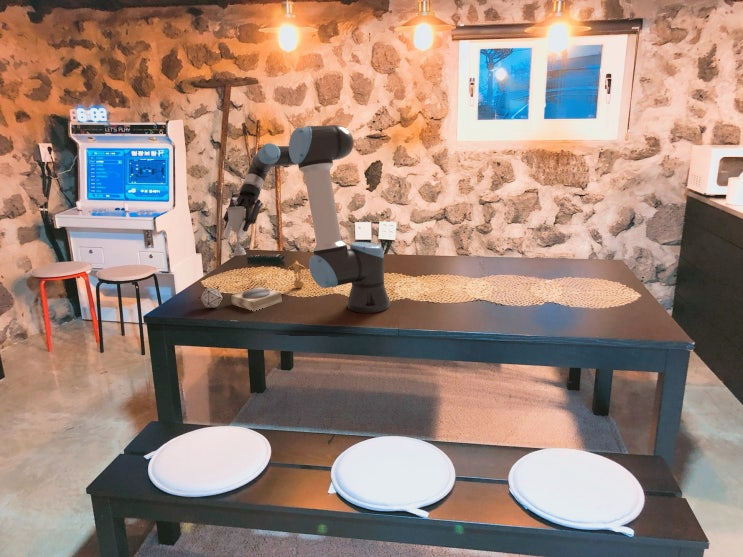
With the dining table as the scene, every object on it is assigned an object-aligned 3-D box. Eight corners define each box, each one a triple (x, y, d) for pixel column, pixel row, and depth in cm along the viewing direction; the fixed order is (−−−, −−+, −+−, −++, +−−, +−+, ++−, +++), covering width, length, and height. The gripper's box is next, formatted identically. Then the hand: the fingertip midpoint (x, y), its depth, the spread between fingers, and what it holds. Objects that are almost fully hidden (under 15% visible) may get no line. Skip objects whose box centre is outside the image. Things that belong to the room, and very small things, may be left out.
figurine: (310, 286, 239) (308, 257, 235) (307, 291, 233) (306, 261, 230) (289, 286, 239) (287, 258, 236) (287, 291, 234) (284, 262, 230)
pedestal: (281, 301, 222) (281, 291, 221) (254, 311, 212) (253, 300, 211) (259, 295, 230) (258, 285, 229) (232, 304, 221) (231, 294, 219)
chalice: (244, 256, 227) (239, 209, 222) (227, 256, 228) (222, 209, 223) (251, 251, 234) (247, 206, 229) (235, 251, 235) (230, 206, 230)
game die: (214, 319, 217) (207, 304, 208) (198, 308, 220) (190, 292, 212) (231, 302, 221) (225, 287, 212) (215, 291, 224) (208, 276, 216)
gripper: (276, 194, 236) (258, 243, 226) (235, 193, 242) (216, 241, 232) (268, 182, 229) (249, 233, 219) (226, 182, 236) (206, 231, 226)
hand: (232, 237), depth 226 cm, fingers closed on chalice, 6 cm apart
